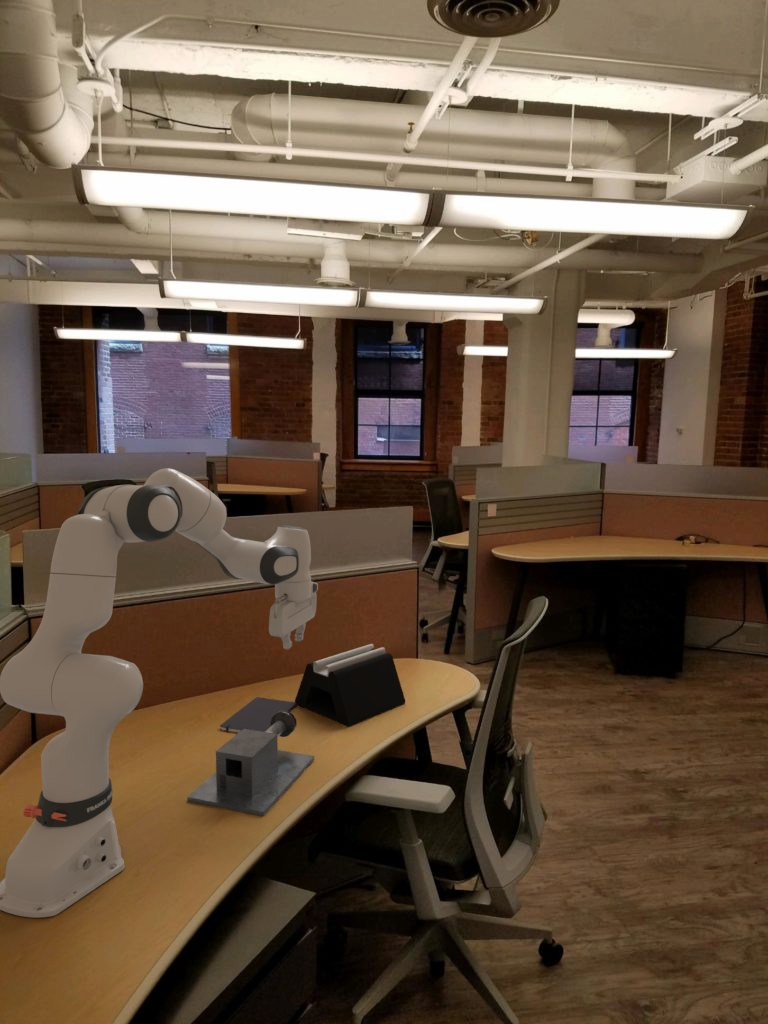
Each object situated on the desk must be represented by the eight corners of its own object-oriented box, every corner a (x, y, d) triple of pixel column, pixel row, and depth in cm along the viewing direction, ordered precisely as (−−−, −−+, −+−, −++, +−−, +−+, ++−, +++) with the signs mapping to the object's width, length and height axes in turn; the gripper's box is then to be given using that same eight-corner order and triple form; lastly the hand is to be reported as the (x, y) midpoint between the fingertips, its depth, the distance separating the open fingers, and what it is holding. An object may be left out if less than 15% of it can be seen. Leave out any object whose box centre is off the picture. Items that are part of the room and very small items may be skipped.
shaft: (257, 772, 155) (257, 746, 154) (233, 768, 157) (233, 742, 156) (296, 735, 174) (296, 711, 173) (274, 731, 175) (274, 708, 175)
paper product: (262, 738, 182) (296, 707, 202) (262, 732, 182) (296, 702, 202) (218, 731, 186) (256, 702, 206) (218, 726, 185) (256, 696, 206)
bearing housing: (263, 816, 145) (263, 769, 144) (187, 801, 150) (186, 756, 149) (314, 759, 169) (314, 719, 168) (247, 748, 175) (246, 709, 174)
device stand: (294, 704, 203) (294, 654, 201) (351, 684, 220) (351, 637, 218) (349, 728, 188) (349, 673, 186) (405, 704, 204) (406, 654, 203)
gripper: (286, 601, 164) (286, 658, 166) (320, 582, 184) (320, 634, 185) (261, 598, 166) (262, 655, 168) (298, 580, 185) (298, 632, 187)
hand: (293, 644), depth 177 cm, fingers open, 5 cm apart
